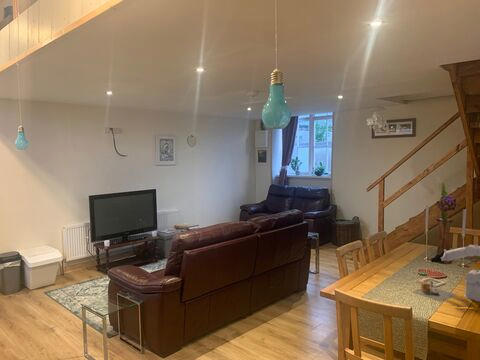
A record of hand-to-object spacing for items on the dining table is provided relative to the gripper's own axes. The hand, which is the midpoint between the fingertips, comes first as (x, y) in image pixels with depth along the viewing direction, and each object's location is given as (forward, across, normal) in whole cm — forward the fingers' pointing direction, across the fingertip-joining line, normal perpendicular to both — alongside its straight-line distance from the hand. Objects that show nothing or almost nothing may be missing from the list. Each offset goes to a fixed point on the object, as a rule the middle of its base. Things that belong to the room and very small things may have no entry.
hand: (433, 259), depth 228 cm
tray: (+10, -6, +16) cm, 20 cm away
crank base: (+3, +12, +18) cm, 23 cm away
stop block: (+8, +12, +15) cm, 21 cm away
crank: (+4, +10, +17) cm, 20 cm away
